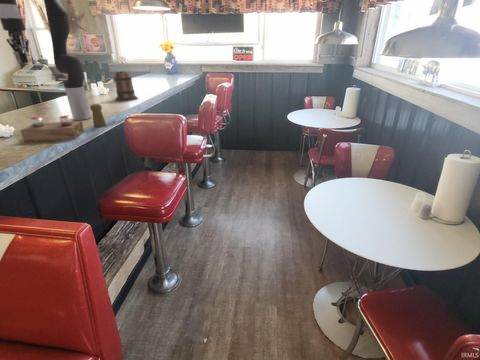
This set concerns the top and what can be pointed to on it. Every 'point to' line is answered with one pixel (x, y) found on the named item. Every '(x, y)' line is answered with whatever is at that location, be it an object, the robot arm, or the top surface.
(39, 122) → the knob
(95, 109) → the cork
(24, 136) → the console
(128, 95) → the tankard
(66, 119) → the knob
